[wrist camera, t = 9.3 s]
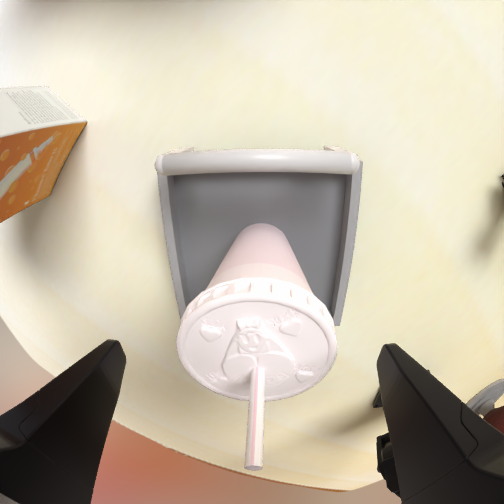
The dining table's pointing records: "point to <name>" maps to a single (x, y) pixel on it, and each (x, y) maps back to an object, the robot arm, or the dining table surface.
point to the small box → (33, 144)
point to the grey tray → (261, 212)
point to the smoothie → (257, 330)
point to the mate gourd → (489, 404)
